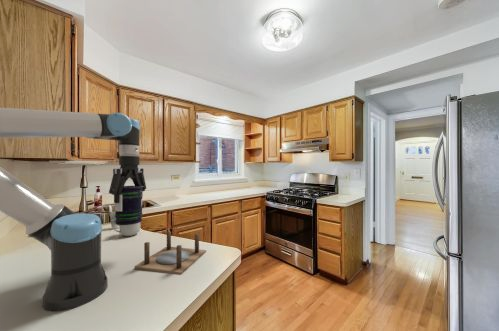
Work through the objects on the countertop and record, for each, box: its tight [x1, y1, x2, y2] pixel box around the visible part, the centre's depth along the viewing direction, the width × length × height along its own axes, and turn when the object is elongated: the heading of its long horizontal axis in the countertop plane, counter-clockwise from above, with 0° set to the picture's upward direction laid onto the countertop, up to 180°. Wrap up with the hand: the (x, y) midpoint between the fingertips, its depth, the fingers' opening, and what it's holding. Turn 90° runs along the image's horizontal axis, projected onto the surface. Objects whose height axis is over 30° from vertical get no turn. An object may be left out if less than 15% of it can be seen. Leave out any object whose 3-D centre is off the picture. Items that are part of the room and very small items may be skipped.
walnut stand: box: [134, 230, 207, 275], centre depth 86 cm, size 20×20×10 cm
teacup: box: [113, 221, 142, 237], centre depth 118 cm, size 14×11×8 cm
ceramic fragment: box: [108, 211, 116, 229], centre depth 134 cm, size 11×3×10 cm, turn 132°
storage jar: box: [114, 185, 143, 225], centre depth 87 cm, size 10×10×15 cm
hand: (129, 208), depth 87 cm, fingers closed on storage jar, 10 cm apart
